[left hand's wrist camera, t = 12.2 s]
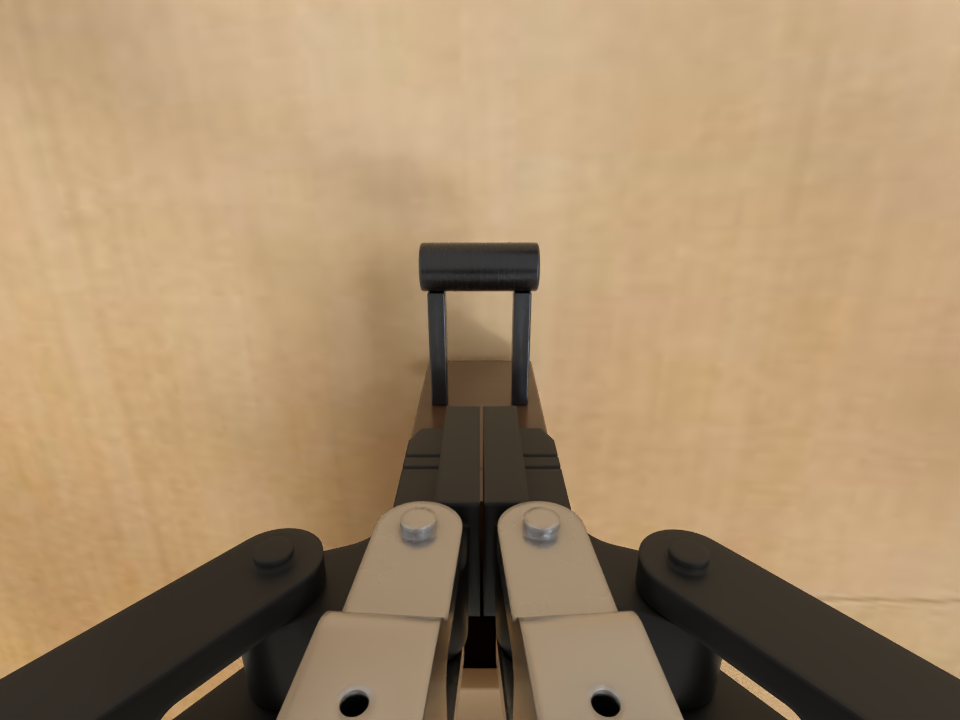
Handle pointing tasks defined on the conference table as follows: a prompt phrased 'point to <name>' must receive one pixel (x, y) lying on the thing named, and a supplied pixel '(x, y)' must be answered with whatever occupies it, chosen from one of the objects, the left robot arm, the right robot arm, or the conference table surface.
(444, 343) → the drawer
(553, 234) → the conference table surface
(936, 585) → the conference table surface
